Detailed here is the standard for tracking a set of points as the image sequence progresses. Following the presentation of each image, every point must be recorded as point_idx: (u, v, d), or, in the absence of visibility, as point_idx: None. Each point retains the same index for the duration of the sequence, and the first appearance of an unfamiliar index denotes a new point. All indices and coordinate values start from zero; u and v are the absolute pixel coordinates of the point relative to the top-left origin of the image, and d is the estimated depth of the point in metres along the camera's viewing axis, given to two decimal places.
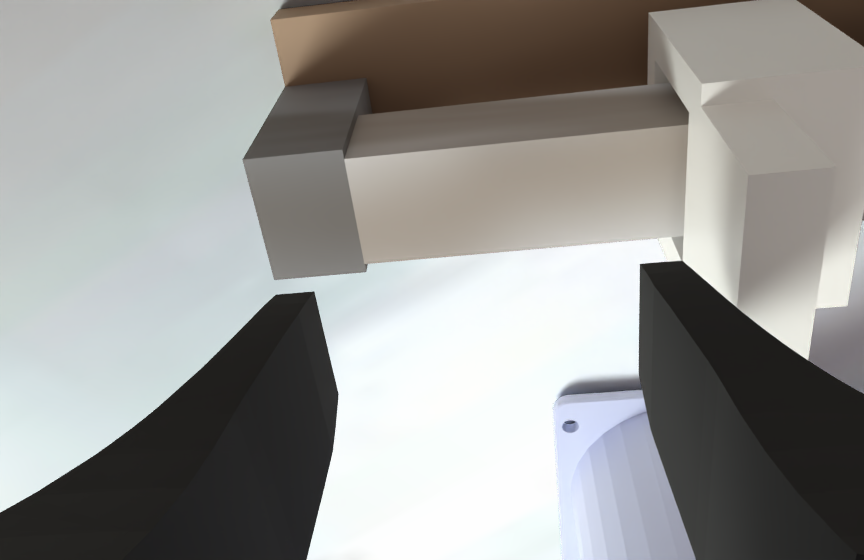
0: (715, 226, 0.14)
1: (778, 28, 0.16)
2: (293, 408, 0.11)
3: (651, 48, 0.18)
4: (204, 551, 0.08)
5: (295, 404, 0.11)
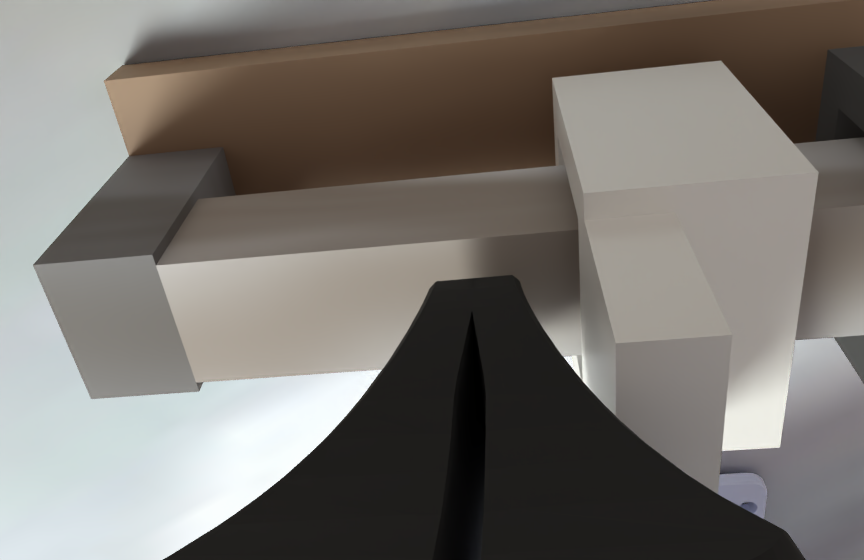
0: (598, 375, 0.11)
1: (696, 109, 0.13)
2: (474, 396, 0.11)
3: (555, 120, 0.15)
4: (454, 538, 0.08)
5: (475, 391, 0.11)
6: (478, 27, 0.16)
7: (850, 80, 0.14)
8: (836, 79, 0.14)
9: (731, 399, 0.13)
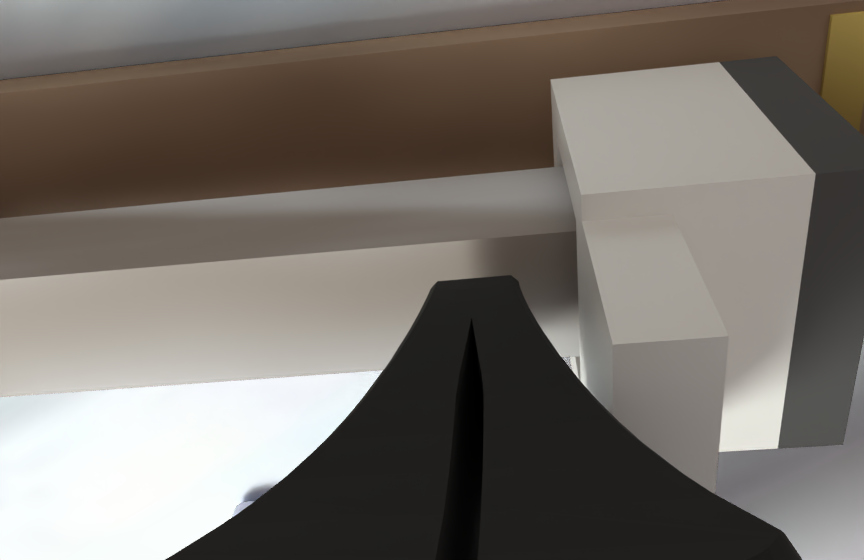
0: (595, 376, 0.11)
1: (693, 111, 0.13)
2: (475, 395, 0.11)
3: (553, 122, 0.15)
4: (457, 537, 0.08)
5: (477, 391, 0.11)
6: (148, 65, 0.17)
7: None
8: None
9: (729, 400, 0.13)
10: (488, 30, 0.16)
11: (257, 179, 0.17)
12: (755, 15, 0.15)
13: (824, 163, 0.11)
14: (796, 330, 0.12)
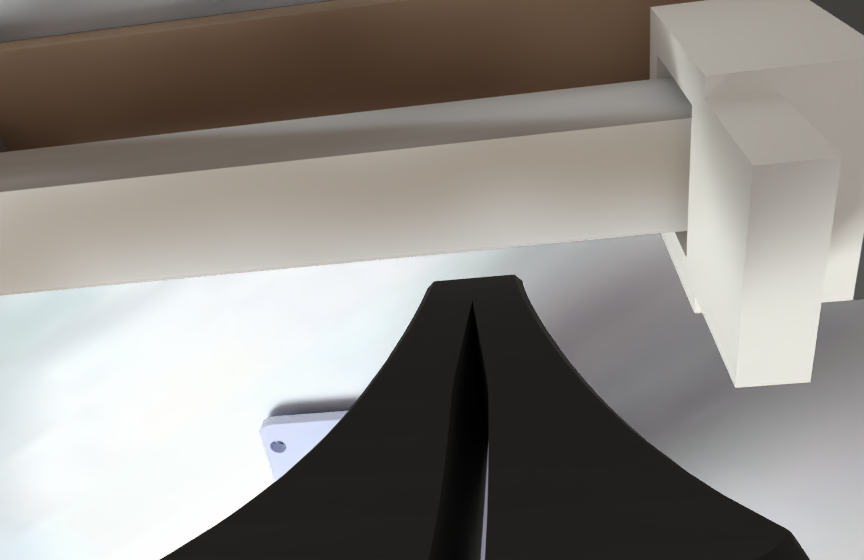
0: (719, 219, 0.14)
1: (781, 21, 0.16)
2: (472, 396, 0.11)
3: (653, 43, 0.18)
4: (451, 538, 0.08)
5: (473, 391, 0.11)
6: (192, 19, 0.20)
7: None
8: None
9: None
10: None
11: (285, 115, 0.20)
12: None
13: None
14: None
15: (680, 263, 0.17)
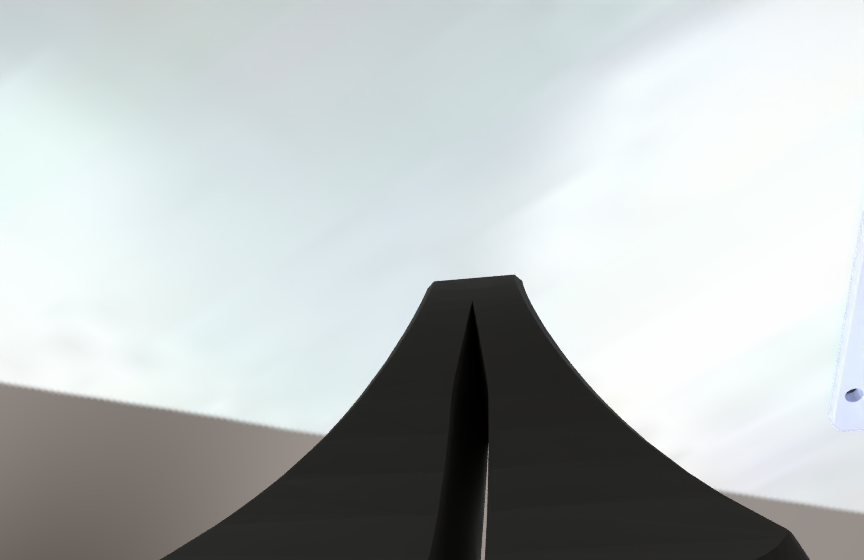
0: None
1: None
2: (472, 395, 0.11)
3: None
4: (452, 538, 0.08)
5: (473, 391, 0.11)
6: None
7: None
8: None
9: None
10: None
11: None
12: None
13: None
14: None
15: None
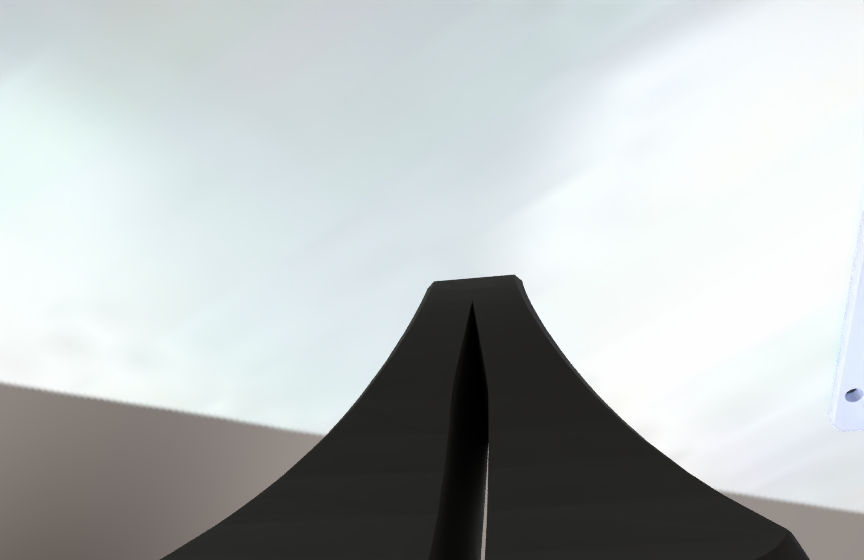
0: None
1: None
2: (472, 395, 0.11)
3: None
4: (452, 538, 0.08)
5: (473, 391, 0.11)
6: None
7: None
8: None
9: None
10: None
11: None
12: None
13: None
14: None
15: None
